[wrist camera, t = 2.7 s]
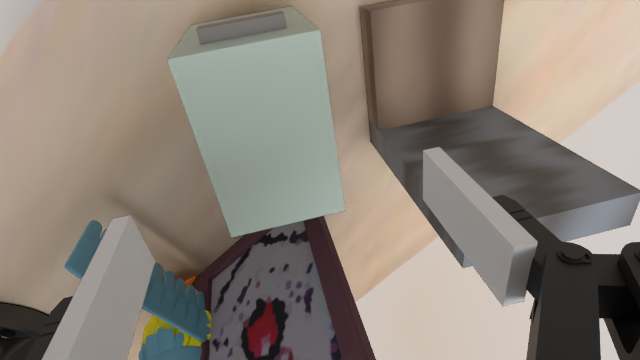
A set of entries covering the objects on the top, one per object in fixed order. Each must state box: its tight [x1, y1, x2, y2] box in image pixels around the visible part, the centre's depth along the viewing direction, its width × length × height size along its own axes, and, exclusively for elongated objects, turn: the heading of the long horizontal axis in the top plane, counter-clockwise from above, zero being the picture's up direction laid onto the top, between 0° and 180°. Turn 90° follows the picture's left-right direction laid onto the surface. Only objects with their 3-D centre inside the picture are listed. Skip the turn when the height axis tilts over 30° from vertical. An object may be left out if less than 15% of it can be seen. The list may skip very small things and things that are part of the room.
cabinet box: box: [167, 6, 345, 237], centre depth 27 cm, size 8×13×12 cm, turn 9°
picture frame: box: [198, 216, 376, 360], centre depth 32 cm, size 17×10×25 cm, turn 131°
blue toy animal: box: [65, 220, 211, 360], centre depth 36 cm, size 28×9×15 cm, turn 38°
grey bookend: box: [360, 0, 640, 268], centre depth 27 cm, size 11×12×18 cm
